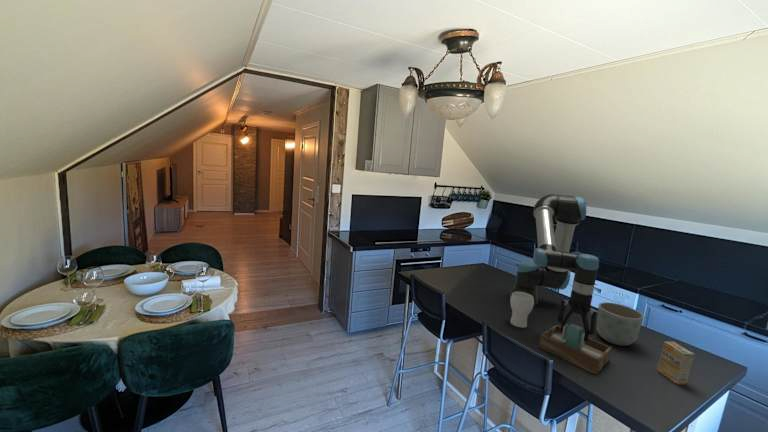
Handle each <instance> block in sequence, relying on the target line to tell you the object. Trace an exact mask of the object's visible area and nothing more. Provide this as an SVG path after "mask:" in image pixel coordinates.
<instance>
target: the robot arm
mask: <svg viewBox="0 0 768 432" xmlns="http://www.w3.org/2000/svg"><path fill="white" fill-rule="evenodd" d="M532 211H533V213H532V214H533V217H534V218H535V223H536V225H535V226H536V237H537V247H536V248H535V249H534V251H533V256H532V257H533V259H532V260H523V261H520V262H519V263H518V264H517V265H518V266H517V268H516V275H515V284H514V286H513V289H512V290H511V292H510V295H509V298H510V299H511V296H512V293H513V292H524V293H528V294H530V295H532V296H533V298H534V306H533V307H535V306H537V305H538V303H539V298H538V294H537V293H538V292H537V289H538V287H542V288H549V289H554V290H562V291H563V290H565V289H566V288H567V287H568V286H569V283H570V280H571V271H574V277H573V281H572V287H571V291H570V296H569V297H570V298H569V300H568V299H562V300H560V303H561V306H560V309H559V313H558V316H557V319H556V320H557V322H558V323H560V326H561V331H562V332H563V333H562V338H561V340H564V339H566V333H567V328H568V326H569V324H567V323H568V321H569V320H570V319H571V317H573V314H574V313H576V314H578V315H580V317H581V320H582V325H583V331H582V338H581V343H580V348H581V349H582V348H583V347H584V344H585V341H588V338H590V336H593V335H594V334H596V330H597V317H598V313H599V312H598V309H596V310H595V309H593V308H592V302H593V301H592V300H593V294H594V289H595V284H596V279H597V275H598V271H599V270H598V269H599V267H600V265H599V264H600V259H599V257H597V256H595V255H593V254H587V253H582V252H579V251H574V252H570V250H571V245H572V241H573V237H574V232H575V229H576V226H579V224H580V222H581V221H584V220H586V217H587V202H586V200H585V199H584V197H580V196H576V195H564V194H546V195H544V196H543V197H541V198H539V199H538V200H537V202H536V203H535V204H534V207H533V209H532ZM553 218H554V220H555V221H556V226H555V228H554V220H553ZM510 299H509V300H510ZM568 305H569V306H570V307H569V308H570V309H569V311H568V313H567V314H566V316H564V315H565V312H566V310H567V309H566V308H567V306H568ZM588 312H590V314H591V316H590V323H589V318H588ZM589 324H590V325H589Z"/></svg>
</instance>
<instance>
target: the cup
mask: <svg viewBox="0 0 768 432" xmlns="http://www.w3.org/2000/svg"><path fill="white" fill-rule="evenodd" d="M509 300H510V301H509V304H510V308H511V311H512V312H511V318H510V320H509V321H510V324H511V325H512V326H514V327H517V328H522V329H523V328H527V327H528V317H529V314H530V313H531V312H532V311H533V309H534V307H535V306H534V298H533V296H532V295H530V294H528V293H524V292H513V293H512V296H511V299H509Z"/></svg>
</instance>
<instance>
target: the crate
mask: <svg viewBox="0 0 768 432" xmlns="http://www.w3.org/2000/svg"><path fill="white" fill-rule="evenodd" d="M562 333H563V332H562V331H561V325H559V324H556V325H554V326H552V327H551V328H549V329H547V330H546V331H544V332H542V333H541V334H540V339H539V342H538V343H539V344H538V348H540V349H542V350H544V351H545V352H546V353H547V352H548V353H550V354H551V355H554V356H556V357H558V358H560V359H562V360H564V361H566V362H568V363H571V364H573V365H575V366H577V367H579V368H581V369H582V370H586V371H587V372H589V373H592V374H594V375H597V374H598V373H599V372H600V371H601V370H602V369H603V368H604V367H605V366H606V365H605V364H607V363H609V361H610V359H611V355H612V349H613V347H612V346H609V345H607V344H605V343H602V342H599V341H597V340H594V339H592V338H590V337H589V338H588V341H585V344H584V347H583V348H582V349H581V348H580V347H579V350H576V349H574V348H572V347H570V346H567V345H565V339H564V340H561V338H562ZM581 338H582V336H581ZM580 343H581V341H580Z"/></svg>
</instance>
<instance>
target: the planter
mask: <svg viewBox="0 0 768 432" xmlns="http://www.w3.org/2000/svg"><path fill="white" fill-rule="evenodd" d="M597 311H598V312H599V313H598V315H597V318H596V330H597V333H598V335H599V336H600V337H601V338H602V339H603V340H604V341H606V342H608V343H610V344H613V345H617V346H621V347H626V346H627V347H628V346H630V345H632V344H634V343H635V341H636V340H637V338H638V336H639V333H640V330H641V328H642V325H643V321H644V319H645V316H644V315H643V313H641V312H640V311H638V310H637V309H634V308H633V307H629V306H626V305H623V304H620V303H616V302H615V303H614V302H606V301H605V302H604V301H603V302H600V303H599V304H598V309H597Z"/></svg>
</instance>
